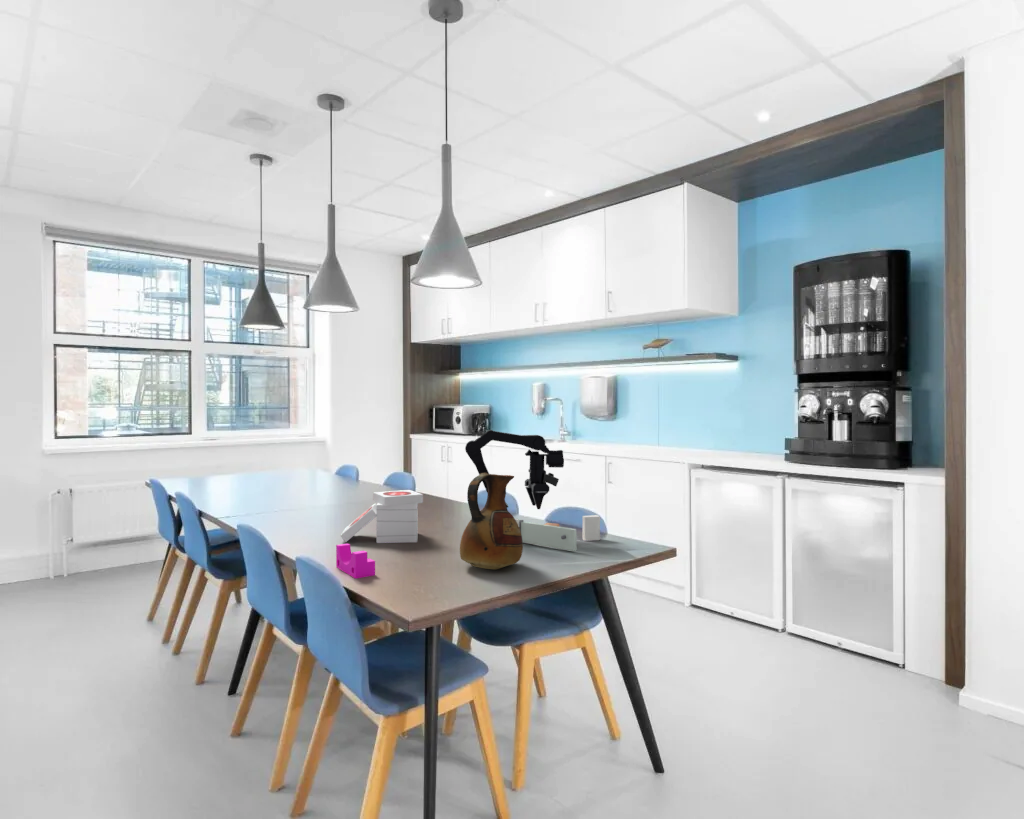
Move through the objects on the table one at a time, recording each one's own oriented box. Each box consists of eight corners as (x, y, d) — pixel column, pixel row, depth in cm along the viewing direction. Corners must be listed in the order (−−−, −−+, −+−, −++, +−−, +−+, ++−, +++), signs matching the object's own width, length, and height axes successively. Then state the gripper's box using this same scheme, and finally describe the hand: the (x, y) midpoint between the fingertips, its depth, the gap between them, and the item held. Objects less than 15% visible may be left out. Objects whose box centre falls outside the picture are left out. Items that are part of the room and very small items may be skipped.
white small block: (514, 544, 228) (514, 519, 228) (513, 542, 231) (513, 518, 231) (600, 540, 235) (600, 516, 235) (597, 538, 238) (597, 515, 238)
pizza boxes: (345, 536, 242) (345, 490, 242) (423, 534, 246) (423, 489, 246) (339, 547, 223) (339, 498, 223) (422, 545, 227) (422, 496, 227)
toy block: (375, 575, 186) (375, 550, 186) (355, 579, 182) (355, 553, 182) (355, 565, 198) (355, 542, 198) (336, 568, 194) (336, 544, 194)
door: (516, 542, 229) (516, 520, 229) (521, 541, 231) (520, 519, 231) (572, 552, 214) (572, 528, 214) (576, 550, 216) (576, 527, 216)
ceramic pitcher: (535, 566, 196) (535, 472, 196) (488, 578, 182) (488, 477, 182) (493, 555, 210) (493, 468, 210) (447, 566, 196) (447, 472, 196)
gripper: (562, 469, 232) (562, 511, 232) (551, 465, 251) (551, 503, 251) (533, 469, 230) (533, 511, 230) (524, 465, 249) (524, 503, 249)
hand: (536, 507), depth 240 cm, fingers open, 9 cm apart
